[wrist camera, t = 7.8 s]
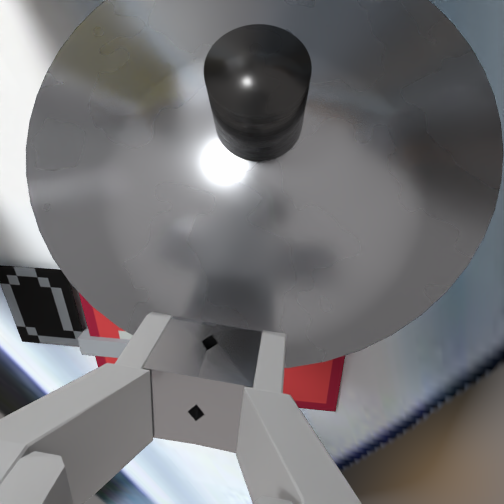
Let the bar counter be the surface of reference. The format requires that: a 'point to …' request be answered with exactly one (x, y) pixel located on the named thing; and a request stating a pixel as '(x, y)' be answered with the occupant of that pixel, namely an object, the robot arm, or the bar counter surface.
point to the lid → (266, 164)
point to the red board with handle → (116, 339)
